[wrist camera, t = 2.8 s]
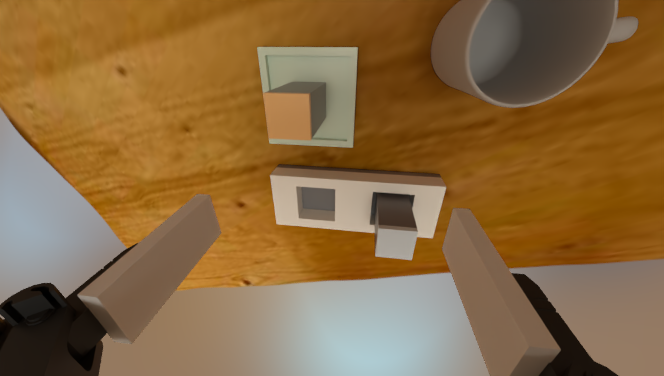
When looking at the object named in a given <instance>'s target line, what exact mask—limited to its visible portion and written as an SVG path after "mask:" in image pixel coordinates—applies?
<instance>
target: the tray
mask: <svg viewBox="0 0 664 376" xmlns="http://www.w3.org/2000/svg"><path fill="white" fill-rule="evenodd" d="M257 50H258V58H259V66H260V74H261V81H262V89H263V93H265V92H267V91H270V90H272V89H275V88H277V87H280V86H282V85H285V84H287V83H290V82H326V118H325V120H324V121H323V123H322V124H321V126H320V127H319V129H318V130H317V132H316V133H315V135H314V136H313V138H312V139H311V141H310V140H290V139H269V143H271V144H291V145H310V146H330V147H349V148H353V144H354V124H355V104H356V83H357V63H358V47H257ZM264 105H265V104H264ZM265 113H266V112H265ZM266 121H267V120H266Z"/></svg>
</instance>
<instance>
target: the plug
mask: <svg viewBox="0 0 664 376" xmlns="http://www.w3.org/2000/svg"><path fill="white" fill-rule="evenodd" d="M263 97H264V104H265V112H266V120H267V128H268V136H269V139H290V140H310V141H311V139H312V138H313V136H314V135H315V133H316V132H317V130H318V129H319V127H320V126H321V124H322V123H323V121H324V120H325V118H326V82H290V83H287V84H285V85H282V86H280V87H277V88H275V89H272V90H270V91H267V92H265V93H263Z"/></svg>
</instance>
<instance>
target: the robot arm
mask: <svg viewBox="0 0 664 376" xmlns="http://www.w3.org/2000/svg"><path fill="white" fill-rule="evenodd" d="M220 234H221V230H220V227H219V224H218V221H217V217H216V214H215V211H214V207H213V204H212V201H211V197H210V195H204V194H197V195H196V196H194V197H193V198H192V199H191V200H190V201H188V202H187V203H186V204H185V205H184V206H182V207H181V208H180V209H179V210H178V211H176V212H175V213H174V214H173V215H172V216H171V217H169V218H168V219H167V220H166V221H165V222H163V223H162V224H161V225H160V226H159V227H157V228H156V229H155V230H154V231H153V232H151V233H150V234H149V235H148V236H147V237H145V238H144V239H143V240H142V241H141V242H140V243H137V244H135V245H133V246H131V247H130V248H128V249H126V250H124V251H123V252H122V253H120V254H119V255H118V256H117V257H115V258H114V259H113V261H112V262H109V263H108V264H107V265H106V266H104V269H101V270H100V271H98V272H97V273H96V274H95V275H93V276H92V277H91V278H90V279H89V280H87V281H86V282H85V283H84V284H83V285H81V286H80V287H79V288H78V289H76V290H75V291H74V292H73V293H72V294H70V295H69V296H68V297H67V298H65V297H64V296H63V295H62V294H61V293H60V292H59V290H58V289H57V288H56V287H55V286H54V285H53V284H51V283H41V284H37V285H33V286H31V287H28V288H26V289H23V290H21V291H20V292H18V293H16V294H14V295H13V296H11V297H10V298H8V299H7V300H5V301H4V302H3V303H2V304H1V305H0V314H1V315H2V316H3V317H4V318H5V319H4V320H3V319H2V318H0V376H98V375H99V369H100V363H101V356H102V350H103V343H102V341H101V339H102V338H103V337H104V336H105V334H106V333H108V334H109V336H110V337H111V338H112V340H113V341H114V342H121V343H127V344H132V343H133V342H134V341H135V339H136V338H137V337H138V336H139V335H140V333H141V332H142V331H143V330H144V328H145V327H146V326H147V325H148V323H149V322H150V321H151V320H152V319H153V317H154V316H155V314H157V312H158V311H159V310H160V309H161V307H162V306H163V305H164V304H165V302H166V301H167V300H168V299H169V297H170V296H171V295H172V294H173V292H174V291H175V290H176V289H177V287H178V286H179V285H180V284H181V282H182V281H183V280H184V279H185V277H186V276H187V275H188V274H189V273H190V271H191V270H192V269H193V268H194V266H195V265H196V264H197V263H198V261H199V260H200V259H201V258H202V256H203V255H204V254H205V253H206V251H207V250H208V249H209V248H210V246H211V245H212V244H213V243H214V241H215V240H216V239H217V238H218V236H219V235H220ZM442 250H443V253H444V255H445V258H446V261H447V263H448V266H449V269H450V271H451V274H452V277H453V279H454V282H455V285H456V287H457V290H458V292H459V295H460V298H461V300H462V303H463V306H464V308H465V311H466V314H467V316H468V319H469V321H470V324H471V327H472V329H473V332H474V335H475V337H476V340H477V342H478V345H479V348H480V350H481V353H482V356H483V358H484V361H485V364H486V366H487V369H488V371H489V374H490V376H618V375H617V374H615V373H614V372H612V371H611V370H610V369H608V368H607V367H605V366H603V365H601V364H598V363H596V362H594V361H593V360H592V358H591V357H590V356H589V355H588V353H587V352H586V350H585V349H584V348H583V346H582V345H581V344H580V342H579V341H578V340H577V338H576V337H575V335H574V334H573V333H572V331H571V330H570V329H569V327H568V326H567V324H566V323H565V322H564V320H563V319H562V318H561V316H560V315H559V313H556V309H555V308H554V307H553V305H552V304H551V303H550V302H549V301H548V298H547V297H546V296H545V294H544V293H543V292H542V290H541V289H540V287H539V286H538V285H537V284H535V283H534V282H533V281H532V280H531V279H529V278H528V277H527V276H526V275H524V274H513V273H511V272H510V271H509V269H508V267H507V266H506V264H505V263H504V261H503V260H502V258H501V257H500V255H499V254H498V252H497V251H496V249H495V247H494V246H493V244H492V243H491V241H490V240H489V238H488V237H487V235H486V234H485V232H484V231H483V229H482V227H481V226H480V224H479V223H478V221H477V220H476V218H475V217H474V215H473V214H472V212H471V211H470V209H462V208H453V211H452V215H451V218H450V222H449V226H448V229H447V233H446V237H445V240H444V244H443V248H442Z"/></svg>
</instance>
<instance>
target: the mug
mask: <svg viewBox="0 0 664 376" xmlns="http://www.w3.org/2000/svg"><path fill="white" fill-rule="evenodd" d="M617 13H618V0H461V1H459V2H458V3H457V4H455V5H454V6H453V7H452V8H451V9H450V10H449V11H448V12H447V13H446V15H445V16H444V17H443V18H442V20H441V22H440V23H439V25H438V27H437V29H436V31H435V34H434V36H433V40H432V45H431V61H432V65H433V68H434V71H435V73H436V74H437V76H438V77H439V78H440V79H441V80H442V81H443V82H444V83H445V84H447V85H448V86H450V87H453V88H455V89H458V90H461V91H463V92H465V93H468V94H470V95H472V96H474V97H477V98H479V99H481V100H483V101H486V102H488V103H490V104H493V105H497V106H500V107H508V108H519V107H526V106H531V105H535V104H538V103H541V102H544V101H546V100H548V99H551V98H553V97H555V96H557V95H558V94H560V93H562V92H563V91H565V90H566V89H568V88H569V87H571V86H572V85H573V84H574V83H576V82H577V81H578V80H579V79H580V78H581V77H582V76H583V75H584V74H585V73H586V72H587V71H588V70H589V69H590V68H591V67H592V66H593V64H594V63H595V62H596V61H597V59H598V58H599V56H600V55H601V54H602V52H603V50H604V49H605V47H606V45H607V43H614V42H620V41H624V40H626V39H628V38H630V37H631V36H632V35H633V34H634V33H635V31H636V29H637V27H638V19H637V18H635V17H621V18H617Z"/></svg>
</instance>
